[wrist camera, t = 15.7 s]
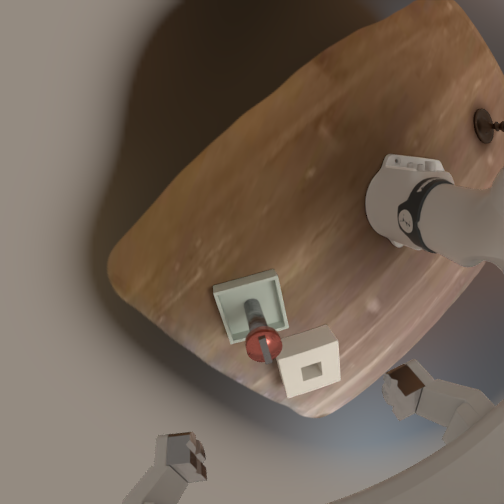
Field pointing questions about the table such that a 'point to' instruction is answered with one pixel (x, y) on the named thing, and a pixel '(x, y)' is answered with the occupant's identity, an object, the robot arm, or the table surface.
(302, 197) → the table surface
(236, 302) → the tray
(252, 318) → the red disc rod
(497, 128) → the candlestick
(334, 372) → the block
